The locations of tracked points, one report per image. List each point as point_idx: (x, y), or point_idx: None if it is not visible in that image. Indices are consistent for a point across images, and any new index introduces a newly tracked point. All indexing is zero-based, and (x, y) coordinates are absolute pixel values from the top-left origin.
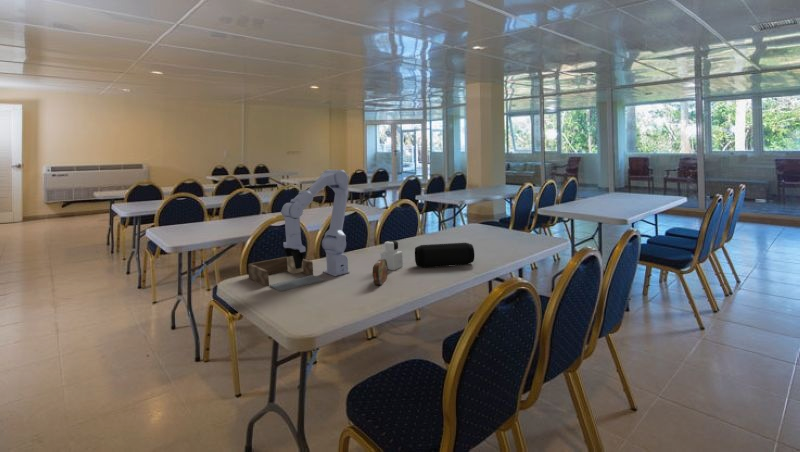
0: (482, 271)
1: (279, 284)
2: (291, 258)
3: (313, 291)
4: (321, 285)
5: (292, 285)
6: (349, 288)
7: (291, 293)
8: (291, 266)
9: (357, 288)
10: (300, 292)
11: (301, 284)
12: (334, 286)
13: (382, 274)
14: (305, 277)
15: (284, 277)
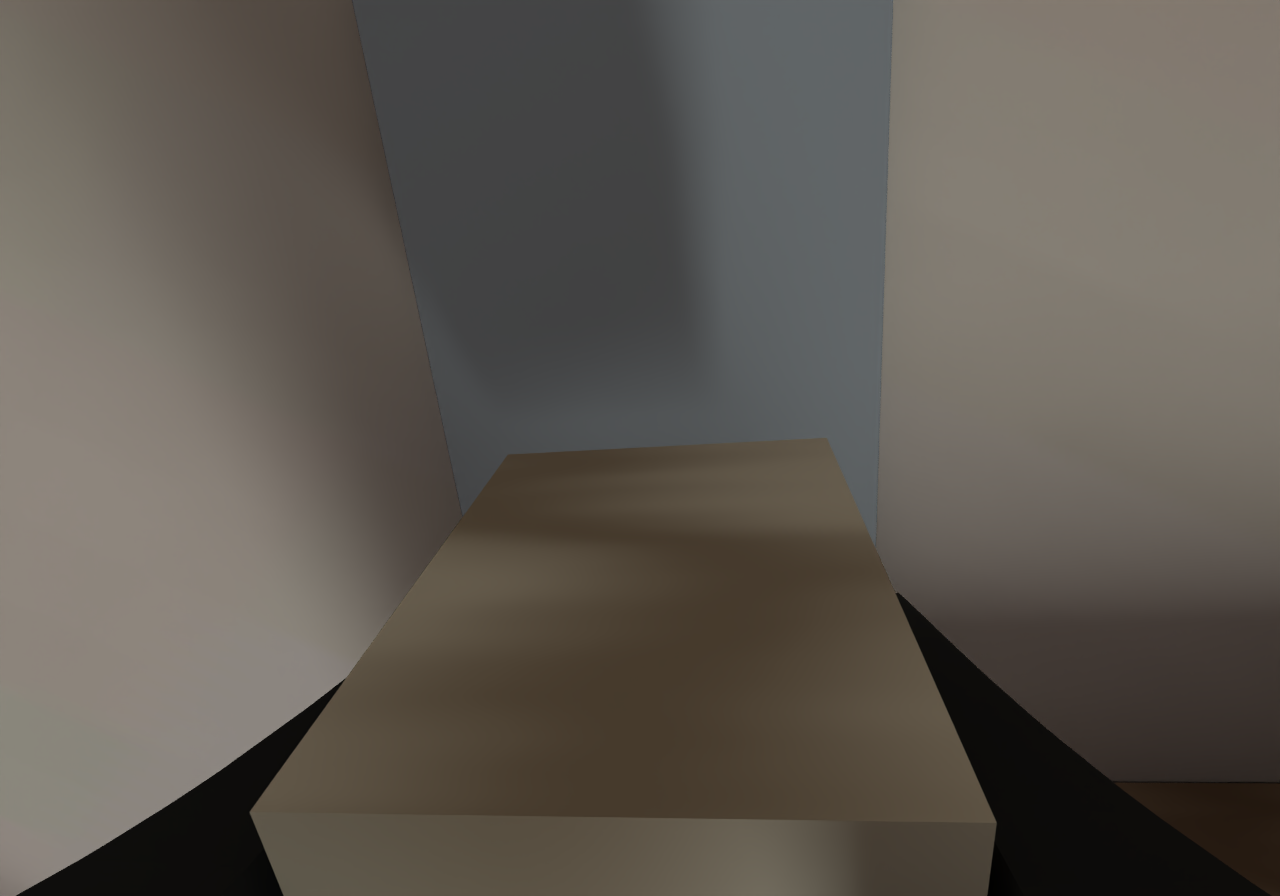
0: None
1: (753, 125)
2: (334, 813)
3: (106, 472)
4: (338, 673)
5: (507, 321)
6: (55, 820)
7: (144, 137)
8: (532, 545)
9: (22, 867)
10: (137, 294)
11: (469, 469)
12: (209, 756)
13: None
14: None
15: (1252, 453)
